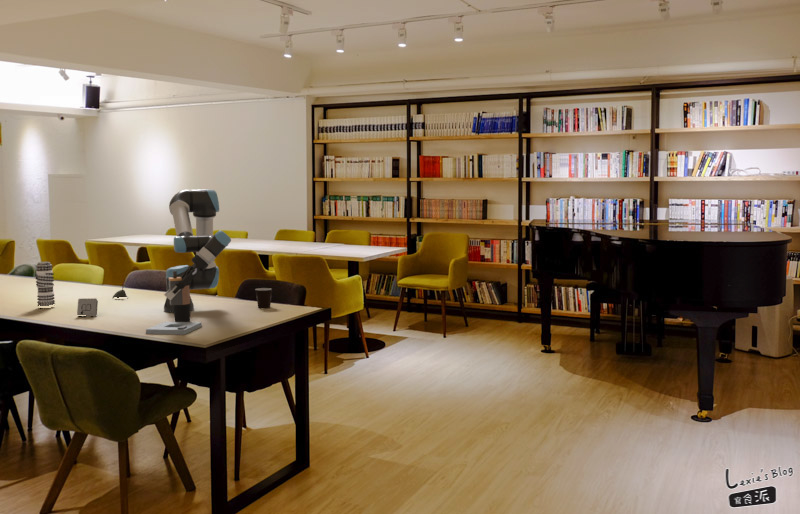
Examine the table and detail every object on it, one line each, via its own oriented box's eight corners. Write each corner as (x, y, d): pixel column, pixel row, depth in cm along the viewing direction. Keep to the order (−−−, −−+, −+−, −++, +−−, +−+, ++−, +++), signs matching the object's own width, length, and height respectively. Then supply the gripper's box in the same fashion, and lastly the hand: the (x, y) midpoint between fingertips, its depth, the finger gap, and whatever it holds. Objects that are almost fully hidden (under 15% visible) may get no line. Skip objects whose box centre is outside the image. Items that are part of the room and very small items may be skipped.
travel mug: (176, 320, 346) (174, 279, 344) (192, 319, 346) (190, 279, 344) (172, 322, 338) (170, 281, 336) (188, 322, 339) (187, 281, 337)
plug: (169, 303, 321) (168, 271, 320) (181, 302, 323) (179, 270, 322) (171, 305, 317) (169, 272, 315) (182, 304, 319) (181, 271, 317)
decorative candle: (55, 305, 392) (53, 261, 390) (55, 308, 384) (53, 262, 381) (37, 307, 388) (34, 261, 386) (36, 309, 380) (34, 263, 377)
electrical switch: (76, 317, 356) (76, 298, 356) (81, 316, 361) (81, 298, 361) (95, 317, 356) (95, 298, 356) (99, 316, 361) (99, 298, 361)
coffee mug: (268, 309, 374) (268, 290, 373) (253, 308, 376) (252, 290, 375) (276, 305, 386) (276, 287, 385) (262, 305, 387) (261, 287, 386)
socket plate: (146, 333, 313) (145, 327, 313) (165, 325, 331) (164, 320, 331) (184, 334, 311) (184, 328, 310) (201, 326, 328) (201, 321, 328)
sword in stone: (108, 298, 417) (108, 278, 416) (120, 297, 423) (120, 277, 422) (119, 300, 411) (119, 279, 410) (131, 299, 418) (130, 278, 417)
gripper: (213, 266, 317) (176, 305, 311) (205, 262, 333) (170, 300, 327) (200, 255, 314) (163, 294, 308) (193, 252, 330) (158, 289, 325)
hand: (167, 297), depth 318 cm, fingers closed on plug, 5 cm apart
